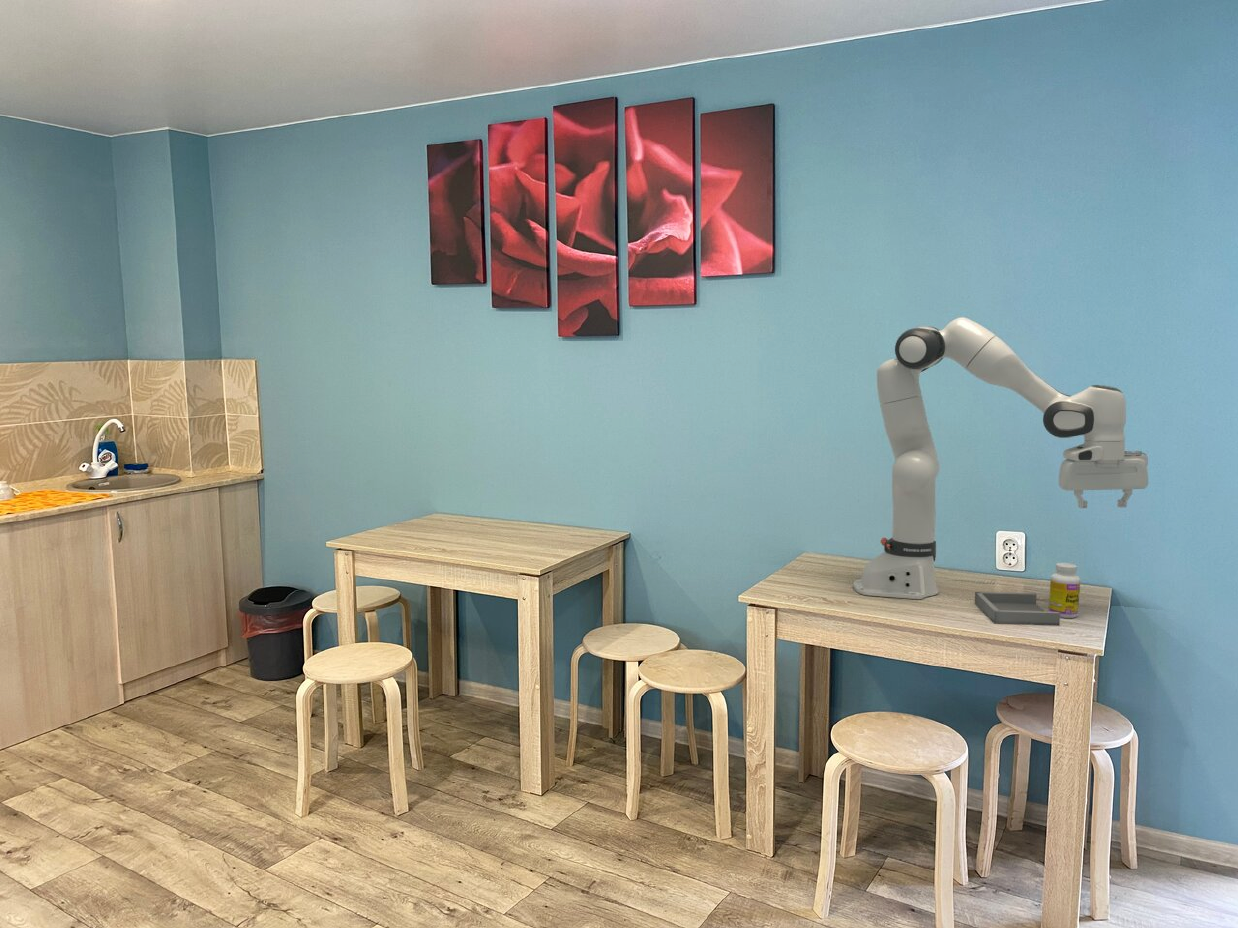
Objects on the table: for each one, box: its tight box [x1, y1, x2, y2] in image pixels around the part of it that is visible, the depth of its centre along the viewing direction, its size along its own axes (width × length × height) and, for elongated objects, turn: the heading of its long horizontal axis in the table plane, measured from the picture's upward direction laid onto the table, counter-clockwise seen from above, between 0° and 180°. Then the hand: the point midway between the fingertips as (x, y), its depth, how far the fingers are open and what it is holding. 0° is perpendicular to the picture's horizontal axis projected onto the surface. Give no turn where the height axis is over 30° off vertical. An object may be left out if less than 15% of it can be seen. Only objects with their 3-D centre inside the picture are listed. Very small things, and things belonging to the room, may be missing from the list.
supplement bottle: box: [1048, 562, 1081, 619], centre depth 231 cm, size 7×7×13 cm
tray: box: [974, 591, 1061, 626], centre depth 233 cm, size 15×18×3 cm
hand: (1102, 507), depth 229 cm, fingers open, 8 cm apart
